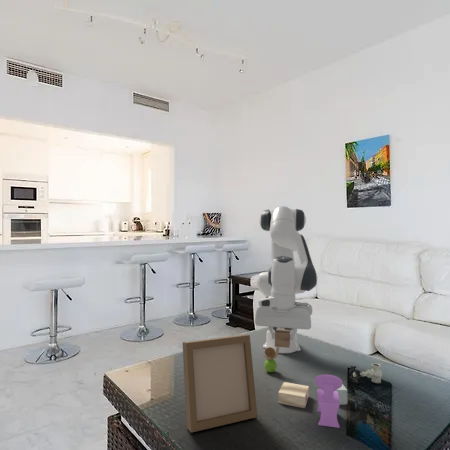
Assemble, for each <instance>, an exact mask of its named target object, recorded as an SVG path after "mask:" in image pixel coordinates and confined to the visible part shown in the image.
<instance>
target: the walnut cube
mask: <svg viewBox="0 0 450 450" xmlns="http://www.w3.org/2000/svg"><path fill="white" fill-rule="evenodd" d="M289 346H290V330H285V329H276V331H275V347H286V348H289Z"/></svg>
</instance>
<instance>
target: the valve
mask: <svg viewBox="0 0 450 450" xmlns="http://www.w3.org/2000/svg"><path fill="white" fill-rule="evenodd" d="M349 369H350V370H348V373H349V374H350V375H349V378H350V379H351V380H352V383H353V384H359V383H360V381H359V380H361V377H367V378H368V379H371V382H372V383H375V384H381V383H382V377H383V373H382V364H380V363H375V362H373V363H371V369H366V370H365V371H359V369H357V366H356V365H350V367H349Z"/></svg>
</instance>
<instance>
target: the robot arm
mask: <svg viewBox="0 0 450 450" xmlns="http://www.w3.org/2000/svg"><path fill="white" fill-rule="evenodd" d="M260 213H261V214H260V216H259V219H258V221H259V224H260V228H261V229H262V230H263V231H266V232H269V233H270V235H269V236H270V238H271V239H270V243H271V244H270V258H271V261H272V263H271V267H269V269H268V270H267V271H263V272H260V273H259V274H258V275H257V277H256V282H255V283H256V286H257V288H258V290H259V291H260V292H261V293H263V295H264V297H261V298H260V299H259V300H258V307H257V308H256V311H255V316H254V323H255V325H256V326H258V327H267V328H268V330H267V331H266V341H265V343H264V344H263V345H262V348H264V349H266V348H267V347H272V348H273V349H274V350H275V353H276V347H275V331H276V329H285V330H290V346H289V348H286V347H279V352H278V354H292V353H294V352H300V351H301V347H300V345H299V343H298V340H297V331H298V330H306V331H307V330H308V331H309V330H310V329H311V328H312V318H311V316H312V314H313V306H312V305H311V304H310V303H308V302H300V301H299V302H298V301H296V295H298V294H304V293H305V292H306V291H307V292H310V291H312V290H314V288H315V287H316V286H317V284H318V275H317V272H316V268H315V266H314V264H313V261H312V258H311V254H310V250H309V247H308V245H307V242H306V240H305V237H304V235H303V234H301V233H300V232H301V231H302V230H303V229H304V227H305V225H306V221H307V218H306V214H305V211H303V209H299V208H296V209H292V208H290V207H288V206H284V205H280V206H278V207H276V208H274V209H265V210H263V211H262V212H260ZM299 231H300V232H299ZM294 252H295V253H296V254H297V255H298V257H299V262H300V264H296V262H295V257H294Z"/></svg>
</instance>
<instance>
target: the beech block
mask: <svg viewBox="0 0 450 450" xmlns="http://www.w3.org/2000/svg"><path fill="white" fill-rule="evenodd" d="M309 391H310V386H309V385H304V384H297V383H291V382H288V381H287V382H286V381H284V382H283V383H282V385H281V386H280V388H279V390H278V392H277V393H278V401H277V402H278V404H281V405H287V406H292V407H296V408H301V409H306V405H307V402H308V400H309V397H310V393H309Z"/></svg>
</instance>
